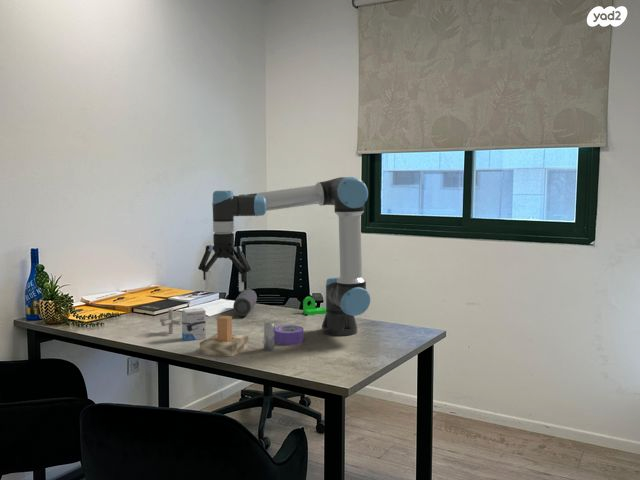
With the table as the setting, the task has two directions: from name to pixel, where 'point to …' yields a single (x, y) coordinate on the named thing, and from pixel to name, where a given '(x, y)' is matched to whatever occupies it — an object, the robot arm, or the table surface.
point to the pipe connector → (171, 321)
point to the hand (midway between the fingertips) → (224, 289)
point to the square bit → (224, 328)
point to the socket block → (224, 345)
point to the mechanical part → (312, 307)
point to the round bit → (269, 336)
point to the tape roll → (288, 334)
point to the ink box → (193, 324)
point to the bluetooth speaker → (245, 302)
